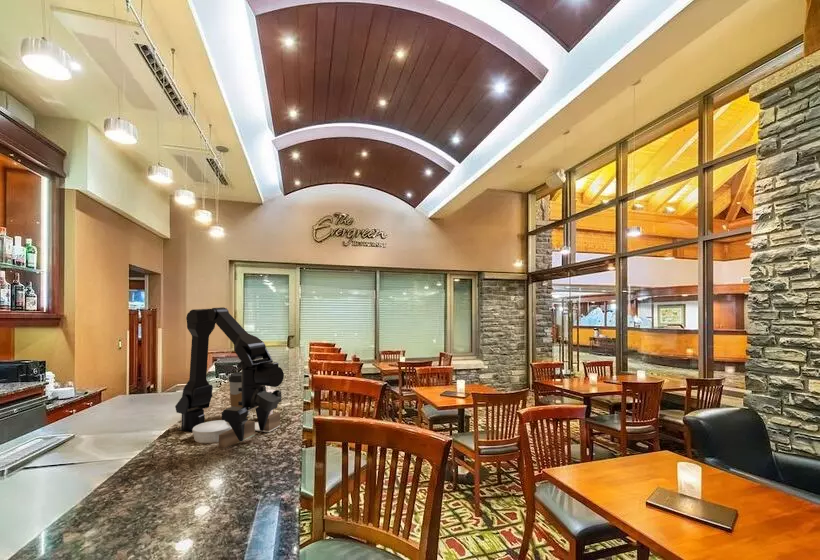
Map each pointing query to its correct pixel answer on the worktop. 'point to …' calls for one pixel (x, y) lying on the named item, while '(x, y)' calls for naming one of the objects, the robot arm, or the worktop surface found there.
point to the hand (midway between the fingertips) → (251, 435)
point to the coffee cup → (235, 389)
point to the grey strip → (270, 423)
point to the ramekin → (210, 431)
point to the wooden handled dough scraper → (231, 438)
